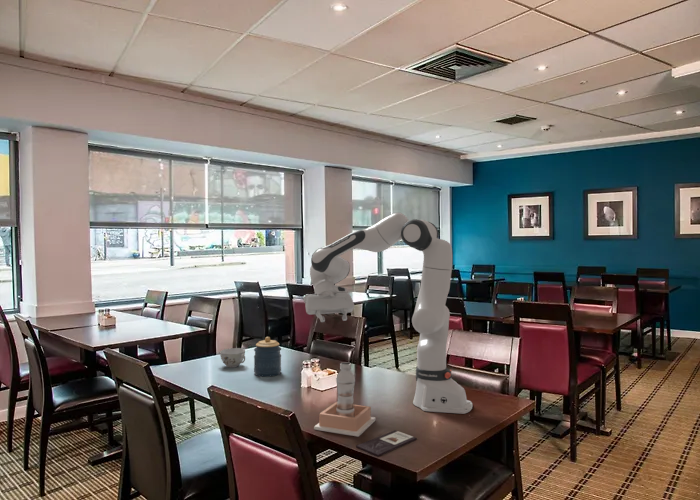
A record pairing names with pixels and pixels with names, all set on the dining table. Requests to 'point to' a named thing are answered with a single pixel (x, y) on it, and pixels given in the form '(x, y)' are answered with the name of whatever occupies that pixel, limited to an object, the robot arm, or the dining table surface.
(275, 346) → the canister
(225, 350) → the teacup
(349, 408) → the plastic bottle
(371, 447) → the chocolate bar
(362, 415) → the open square box
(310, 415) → the dining table surface
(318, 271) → the robot arm
